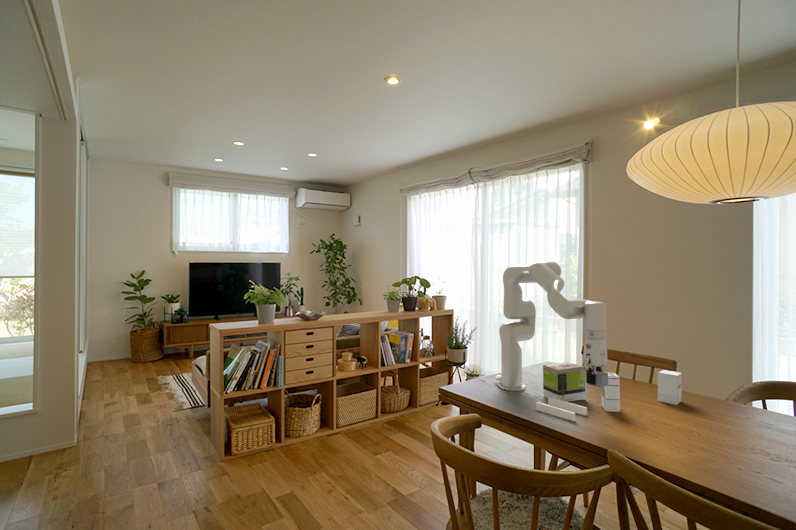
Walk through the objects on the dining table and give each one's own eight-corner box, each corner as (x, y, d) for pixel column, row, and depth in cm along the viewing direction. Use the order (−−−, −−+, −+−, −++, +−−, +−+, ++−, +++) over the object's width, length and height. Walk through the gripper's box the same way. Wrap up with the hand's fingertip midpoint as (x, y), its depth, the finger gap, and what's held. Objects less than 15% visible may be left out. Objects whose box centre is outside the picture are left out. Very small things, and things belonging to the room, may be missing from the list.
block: (588, 384, 151) (588, 372, 151) (594, 382, 154) (594, 370, 154) (602, 387, 147) (602, 375, 147) (608, 385, 150) (608, 373, 150)
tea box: (569, 393, 186) (569, 361, 186) (586, 400, 176) (586, 366, 176) (542, 396, 181) (542, 363, 181) (557, 404, 172) (557, 369, 172)
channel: (535, 409, 165) (535, 402, 165) (549, 404, 171) (549, 396, 171) (573, 421, 152) (573, 413, 152) (586, 415, 159) (586, 407, 159)
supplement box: (677, 405, 170) (677, 375, 169) (657, 401, 175) (657, 372, 175) (682, 401, 174) (682, 372, 174) (662, 397, 180) (662, 369, 180)
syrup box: (620, 412, 162) (620, 376, 162) (604, 411, 163) (604, 375, 163) (615, 407, 167) (615, 372, 167) (600, 406, 169) (600, 371, 169)
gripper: (594, 338, 143) (594, 389, 143) (615, 333, 154) (615, 380, 154) (573, 335, 149) (573, 384, 149) (595, 330, 160) (595, 376, 160)
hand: (594, 382), depth 151 cm, fingers closed on block, 5 cm apart
